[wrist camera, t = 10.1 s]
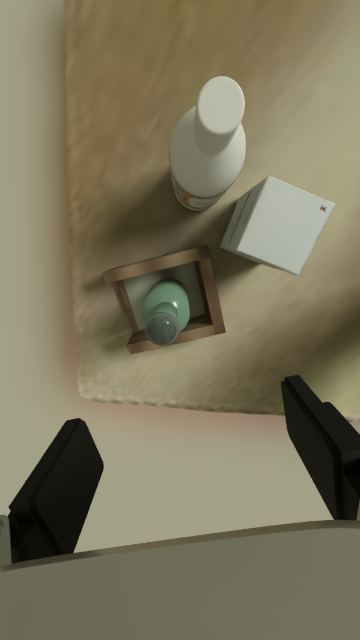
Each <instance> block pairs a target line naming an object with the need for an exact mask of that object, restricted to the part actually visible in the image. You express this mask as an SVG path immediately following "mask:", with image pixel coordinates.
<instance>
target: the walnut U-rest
mask: <svg viewBox="0 0 360 640" xmlns="http://www.w3.org/2000/svg"><path fill="white" fill-rule="evenodd" d="M102 274H103V277H104V280H105V283H106V284H107V283H111V282H115V281H117V284H118V287H119V290H120V293H121V296H122V299H123V302H124V305H125V308H126V311H127V314H128V317H129V320H130V323H131V326H132V329H133V332H134V333H133V335H132V337H131V338H130V340H129V342H128V344H127V347H128V349H129V352H130V354H134V353H138V352H142V351H147V350H151V349H156V348H160V347H164V346H160V345H156V344H154V343H152V342H151V341H150V340H149V339H148V338H147V336H146V333H145V324H144V322H143V319H142V314H141V311H142V306H143V303H144V301H145V300H146V298H147V296H148V295H149V293H150V292H151V290H152V288H153V287H154V285H155V284H156V283H157V282H158V281H160V280H162V279H164V278H174V279H177V280H179V281H180V282H181V283H183V285H184V286H185V288H186V290H187V294H188V302H189V310H190V316H189V321H188V323H187V325H186V326H185V328H184V329H183V330H182V331H180V332H179V333H178V336H177V338H176V340H175V341H174V342H172V343H171V344H169V345H173V344H177V343H182V342H186V341H191V340H195V339H199V338H204V337H208V336H212V335H217V334H221V333H225V327H224V322H223V317H222V312H221V307H220V302H219V297H218V293H217V288H216V283H215V278H214V273H213V268H212V263H211V259H210V254H209V249H208V245H201V246H197V247H193V248H189V249H185V250H182V251H178V252H174V253H170V254H166V255H162V256H159V257H155V258H151V259H147V260H143V261H139V262H136V263H132V264H128V265H124V266H120V267H116V268H113V269H110V270H108V271H105V272H102ZM169 345H165V346H169Z"/></svg>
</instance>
